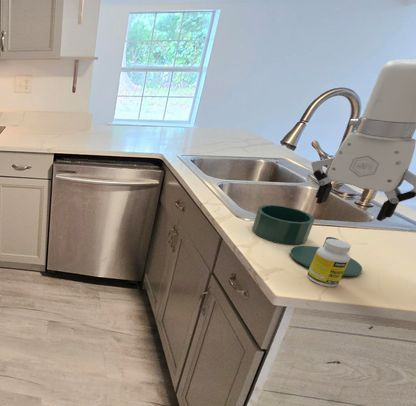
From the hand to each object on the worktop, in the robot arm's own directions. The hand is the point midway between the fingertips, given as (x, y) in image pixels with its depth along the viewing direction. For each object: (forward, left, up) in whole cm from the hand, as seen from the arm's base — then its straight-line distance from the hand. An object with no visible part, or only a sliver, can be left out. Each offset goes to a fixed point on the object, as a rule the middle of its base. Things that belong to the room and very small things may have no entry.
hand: (349, 210), depth 76 cm
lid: (+3, -9, -17) cm, 19 cm away
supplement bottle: (0, 0, -18) cm, 18 cm away
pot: (+16, -16, -18) cm, 28 cm away
